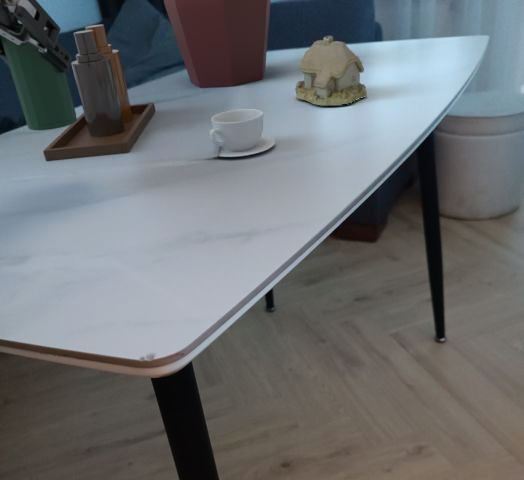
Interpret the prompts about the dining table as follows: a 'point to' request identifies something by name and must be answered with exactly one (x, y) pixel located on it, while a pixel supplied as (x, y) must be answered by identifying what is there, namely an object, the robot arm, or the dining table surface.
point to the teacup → (239, 133)
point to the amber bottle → (114, 69)
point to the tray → (83, 145)
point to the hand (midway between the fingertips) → (47, 65)
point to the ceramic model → (330, 74)
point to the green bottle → (39, 87)
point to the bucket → (221, 39)
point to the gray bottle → (97, 87)
